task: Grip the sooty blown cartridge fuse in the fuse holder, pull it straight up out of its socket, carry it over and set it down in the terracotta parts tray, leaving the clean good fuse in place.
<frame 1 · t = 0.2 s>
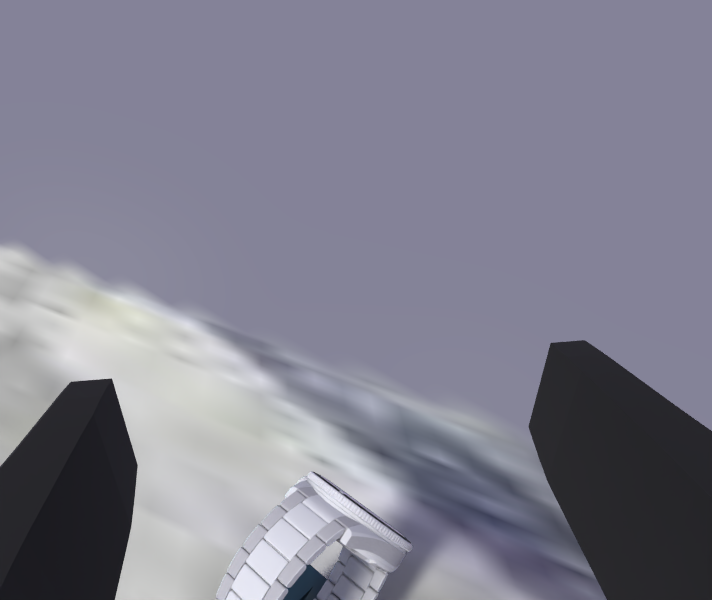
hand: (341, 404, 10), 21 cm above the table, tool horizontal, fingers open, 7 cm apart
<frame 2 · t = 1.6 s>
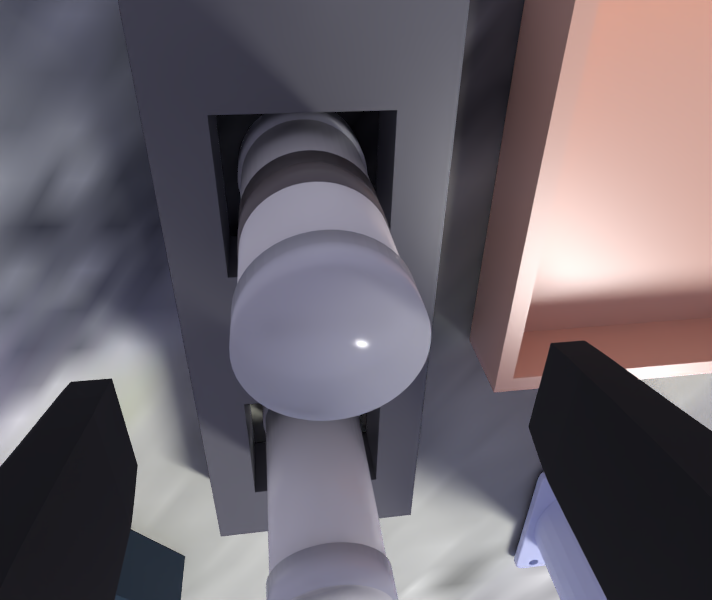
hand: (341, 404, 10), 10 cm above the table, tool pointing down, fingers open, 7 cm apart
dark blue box: (109, 561, 29), on the table
good fuse: (309, 397, 24), resting in fuse holder
blown fuse: (300, 164, 18), resting in fuse holder
fuse holder: (305, 296, 21), on the table
parts tray: (677, 177, 21), on the table
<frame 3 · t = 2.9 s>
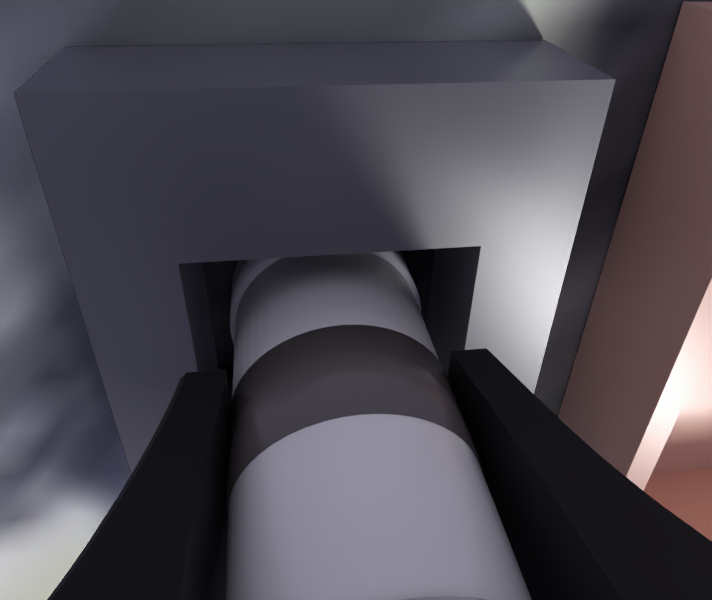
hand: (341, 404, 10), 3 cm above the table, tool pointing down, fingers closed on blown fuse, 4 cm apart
blown fuse: (321, 290, 13), resting in fuse holder, touching gripper
fuse holder: (324, 448, 16), on the table
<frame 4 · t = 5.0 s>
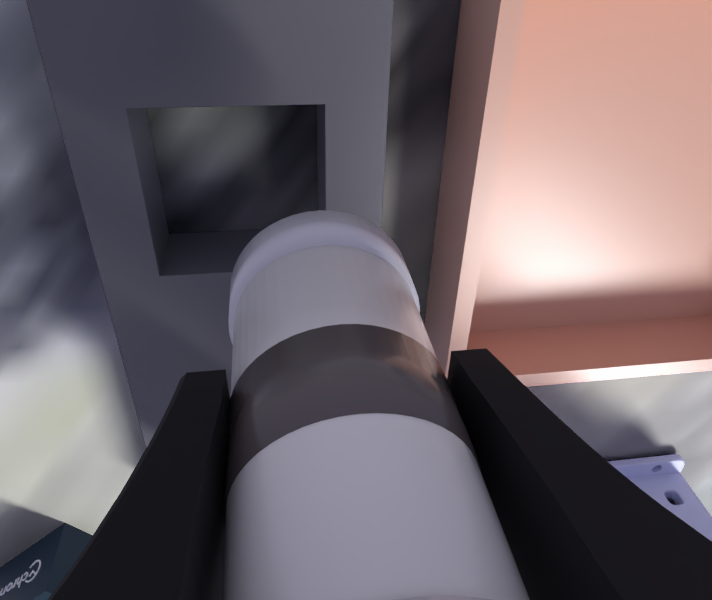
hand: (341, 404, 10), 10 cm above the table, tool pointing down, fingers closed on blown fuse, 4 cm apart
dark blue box: (63, 563, 28), on the table
blown fuse: (320, 290, 13), point 7 cm above the table, touching gripper
fuse holder: (251, 295, 21), on the table
parts tray: (628, 175, 20), on the table
when the fingers open (5 cm above the table, at t = 7.4 s): blown fuse drops 1 cm, resting on parts tray.
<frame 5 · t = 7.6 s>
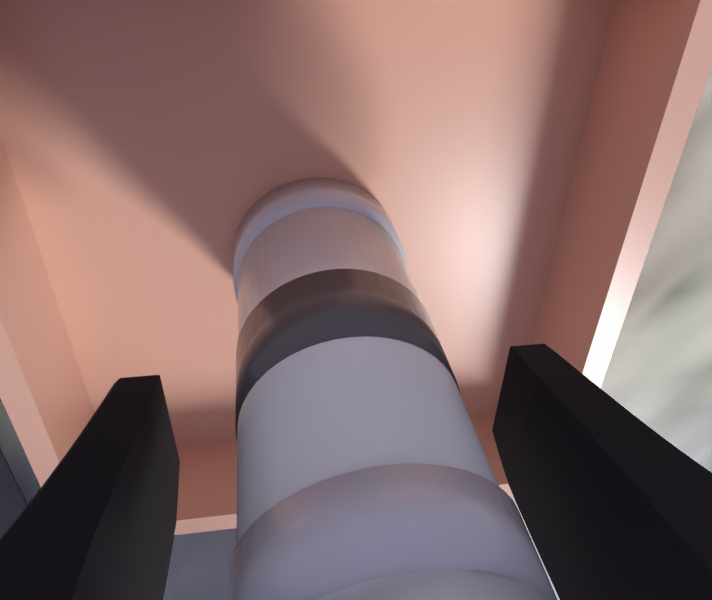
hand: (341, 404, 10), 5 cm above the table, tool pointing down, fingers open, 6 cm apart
blown fuse: (316, 253, 14), point 1 cm above the table, touching parts tray
parts tray: (314, 244, 14), on the table
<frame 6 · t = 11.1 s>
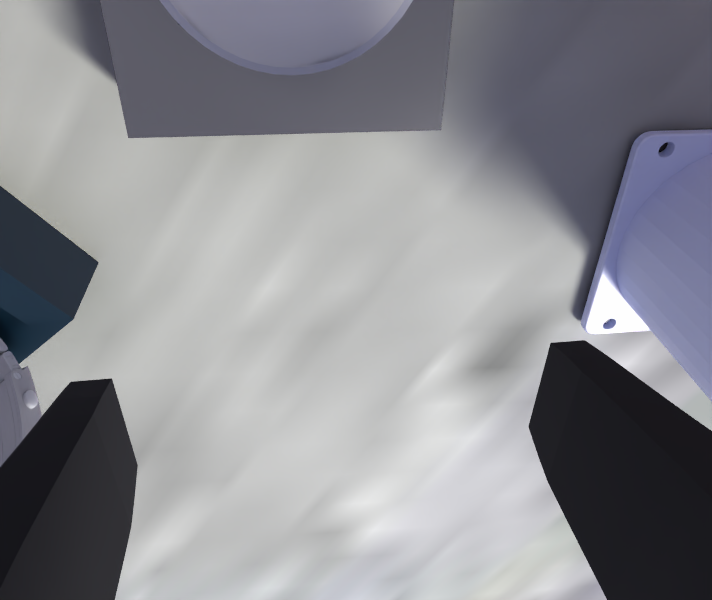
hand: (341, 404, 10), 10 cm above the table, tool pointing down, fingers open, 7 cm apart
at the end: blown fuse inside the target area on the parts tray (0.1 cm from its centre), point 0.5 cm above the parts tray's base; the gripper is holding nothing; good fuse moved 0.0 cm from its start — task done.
